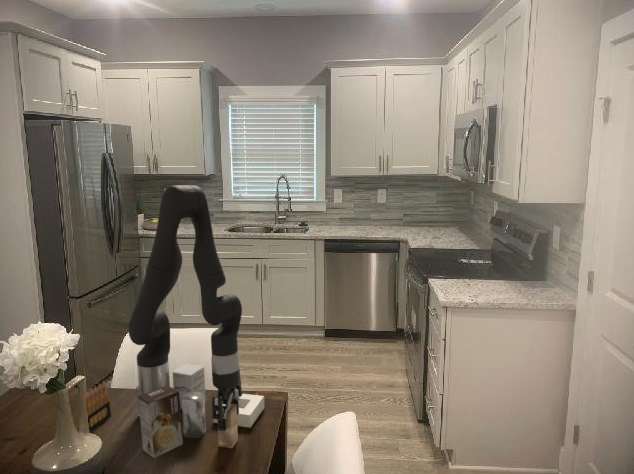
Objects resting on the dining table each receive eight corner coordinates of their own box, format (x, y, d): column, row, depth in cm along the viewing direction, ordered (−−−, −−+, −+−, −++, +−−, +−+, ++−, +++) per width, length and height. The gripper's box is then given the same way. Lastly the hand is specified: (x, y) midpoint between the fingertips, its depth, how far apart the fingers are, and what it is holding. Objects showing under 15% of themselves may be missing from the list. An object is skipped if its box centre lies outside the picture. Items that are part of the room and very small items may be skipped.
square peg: (218, 446, 139) (217, 409, 137) (224, 438, 143) (223, 402, 141) (232, 448, 138) (230, 411, 136) (237, 440, 142) (236, 404, 140)
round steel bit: (179, 436, 144) (177, 401, 142) (190, 425, 150) (188, 390, 148) (199, 439, 142) (197, 403, 141) (209, 427, 149) (208, 393, 147)
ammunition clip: (86, 434, 146) (83, 396, 144) (81, 433, 146) (77, 395, 144) (111, 416, 156) (108, 380, 154) (106, 415, 156) (103, 379, 154)
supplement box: (173, 408, 160) (171, 371, 158) (187, 398, 167) (185, 362, 165) (193, 413, 157) (190, 375, 155) (206, 402, 164) (204, 365, 162)
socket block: (213, 422, 151) (212, 410, 151) (229, 403, 163) (229, 392, 162) (250, 427, 148) (250, 415, 148) (264, 407, 160) (264, 396, 159)
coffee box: (171, 436, 144) (168, 384, 142) (183, 444, 140) (180, 391, 137) (141, 449, 138) (137, 395, 135) (153, 459, 133) (149, 403, 131)
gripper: (223, 356, 145) (227, 408, 147) (201, 377, 131) (204, 434, 134) (248, 357, 143) (250, 410, 145) (227, 379, 129) (231, 437, 132)
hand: (228, 422), depth 139 cm, fingers open, 8 cm apart
